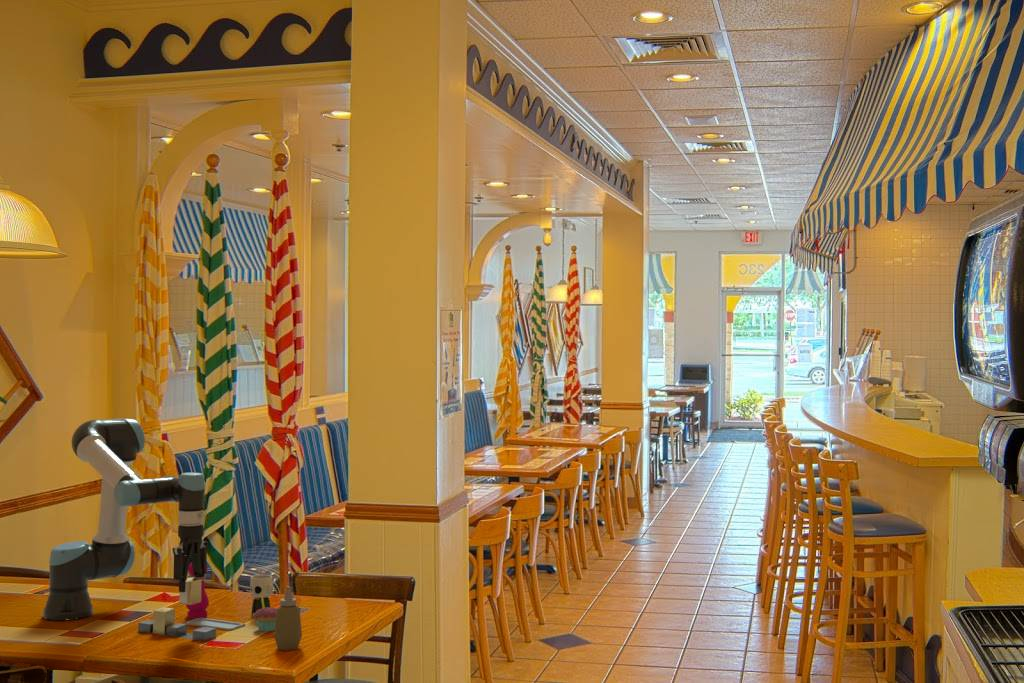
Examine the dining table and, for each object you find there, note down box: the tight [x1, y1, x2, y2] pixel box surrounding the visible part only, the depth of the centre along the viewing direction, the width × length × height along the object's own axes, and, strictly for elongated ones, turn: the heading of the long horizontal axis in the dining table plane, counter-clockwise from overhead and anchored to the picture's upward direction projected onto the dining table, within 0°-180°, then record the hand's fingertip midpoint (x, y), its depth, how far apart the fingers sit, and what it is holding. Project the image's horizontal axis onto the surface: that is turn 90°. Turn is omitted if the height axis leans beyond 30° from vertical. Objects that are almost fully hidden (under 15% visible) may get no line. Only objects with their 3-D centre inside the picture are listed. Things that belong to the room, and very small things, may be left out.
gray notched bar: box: [137, 618, 217, 642], centre depth 325 cm, size 26×5×3 cm, turn 66°
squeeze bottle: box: [273, 585, 303, 651], centre depth 312 cm, size 8×8×18 cm
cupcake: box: [252, 593, 277, 632], centre depth 332 cm, size 9×8×12 cm
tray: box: [184, 617, 246, 632], centre depth 337 cm, size 18×7×1 cm, turn 66°
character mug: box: [249, 574, 274, 617], centre depth 350 cm, size 11×7×13 cm, turn 53°
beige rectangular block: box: [179, 577, 201, 605], centre depth 323 cm, size 4×4×7 cm
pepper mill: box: [185, 562, 210, 619], centre depth 348 cm, size 7×7×20 cm
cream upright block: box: [152, 606, 176, 636], centre depth 327 cm, size 4×4×7 cm
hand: (189, 600), depth 323 cm, fingers closed on beige rectangular block, 4 cm apart
